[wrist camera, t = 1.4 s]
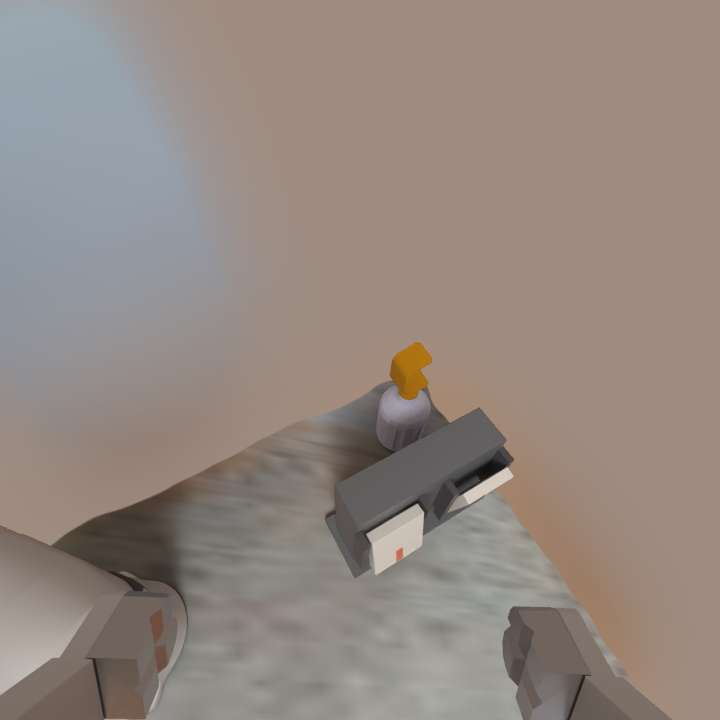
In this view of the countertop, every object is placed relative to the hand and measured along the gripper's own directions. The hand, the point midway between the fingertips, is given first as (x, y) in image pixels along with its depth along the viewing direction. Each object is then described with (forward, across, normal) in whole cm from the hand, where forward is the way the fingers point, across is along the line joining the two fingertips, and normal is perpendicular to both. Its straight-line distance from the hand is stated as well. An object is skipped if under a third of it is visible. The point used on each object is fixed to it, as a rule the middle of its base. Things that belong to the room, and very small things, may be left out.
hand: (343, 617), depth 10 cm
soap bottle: (+65, +11, -31) cm, 73 cm away
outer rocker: (+48, +20, -32) cm, 61 cm away
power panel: (+52, +12, -38) cm, 66 cm away
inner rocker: (+41, +9, -38) cm, 56 cm away
